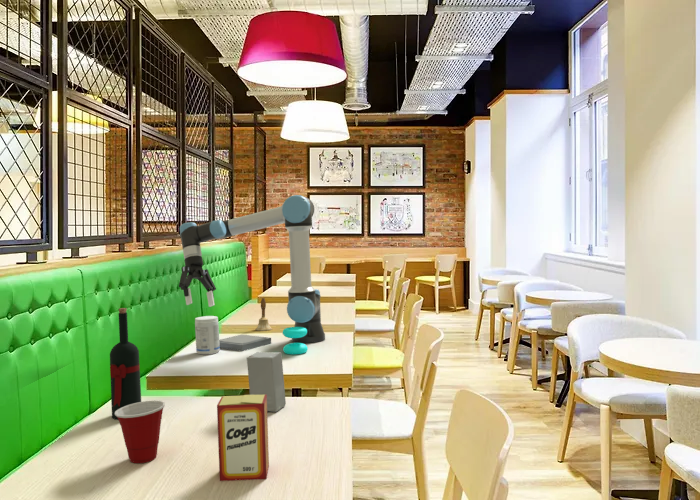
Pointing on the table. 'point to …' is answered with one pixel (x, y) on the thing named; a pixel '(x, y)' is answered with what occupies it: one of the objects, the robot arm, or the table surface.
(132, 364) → the wine bottle
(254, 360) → the skincare box
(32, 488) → the table surface
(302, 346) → the donuts
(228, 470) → the baking soda box
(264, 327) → the hand bell
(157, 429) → the plastic cup
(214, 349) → the supplement tub
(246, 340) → the slate board
